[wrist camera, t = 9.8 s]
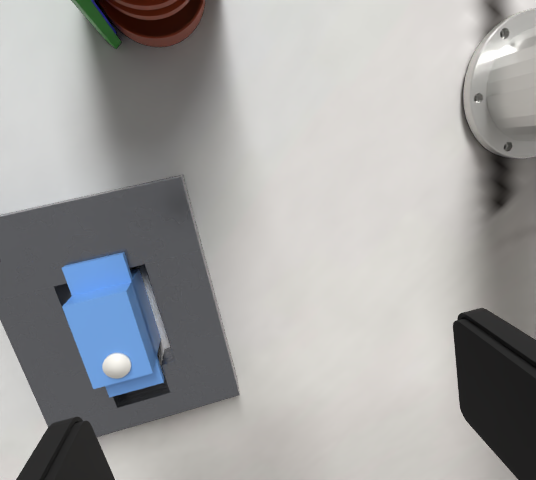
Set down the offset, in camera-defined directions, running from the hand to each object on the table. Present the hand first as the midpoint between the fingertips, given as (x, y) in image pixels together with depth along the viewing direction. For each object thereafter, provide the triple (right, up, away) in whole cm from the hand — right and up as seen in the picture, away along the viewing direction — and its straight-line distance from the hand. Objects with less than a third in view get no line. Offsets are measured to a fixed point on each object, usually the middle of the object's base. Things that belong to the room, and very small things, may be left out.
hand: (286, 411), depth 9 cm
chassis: (-13, -2, +23) cm, 26 cm away
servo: (-13, -2, +23) cm, 27 cm away
